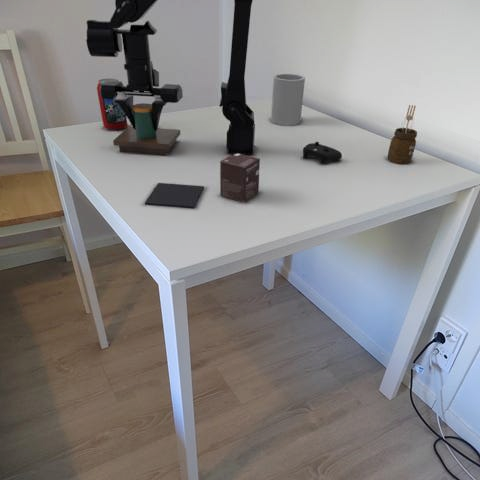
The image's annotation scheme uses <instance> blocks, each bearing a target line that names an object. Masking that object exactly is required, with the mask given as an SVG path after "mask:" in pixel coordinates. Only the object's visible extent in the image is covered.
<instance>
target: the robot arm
mask: <svg viewBox="0 0 480 480" xmlns="http://www.w3.org/2000/svg"><path fill="white" fill-rule="evenodd" d="M158 1H159V0H115V1H114V3H115V9H114V12H113V13H112V15H111V17H110V20H96V19H88V20H86V27H87V29H86V39H85V43H86V46H87V50H88V53H89V55H90V56H91V57H96V58H99V57H100V58H117V57H118V56H119V53H122V52H123V55H124V64H123V68H124V71H125V70H126V77H127V84H126V85H124V84H123V82H122V81H119V82H118V81H107V82H106V83H104V84H102V85H101V86H100V96H101V98H102V99H114V97H115V99H116V100H114V102H115V103H118V104H119V105H120V107H121V108H122V110H123V111H124V113H125V114H126V118H127V120H128V121H129V123H130V124H131V127H133V128H134V130H136V129H135V121H134V113H133V109H132V106H133V105H134V96H136V97H153V99H154V101H153V102H152V103H151V104H152V112H153V124H154V129H155V131H157V129H158V128H159V124H160V119H161V115H162V111H163V108H164V107H165V106H166V105H167V104H170V103H171V104H175V103H176V104H177V103H179V102H180V101H181V100H182V99H183V95H184V94H183V88H182V86H181V85H180V84H170V83H165V84H164V85H163V86H162V87H160V71H158V70H156V69H154V65H153V61H152V59H151V51H150V39H149V36H154V35H156V34H157V32H158V29H156V28H155V27H154V26H153V24H152V23H151V22H150V20H146V21H145V22H144V24H133V23H135V22H138V21H139V20H142V19H143V18H144V17H145V16H146V15H147V14H148V13H149V11H150V10H151V9H153V7H154V6H155V4H156V3H157V2H158ZM233 3H234V7H233V22H232V35H231V48H230V60H229V61H230V62H229V72H228V73H229V74H228V79H227V82H224V81H221V84H220V100H219V108H221V111H222V115H223V117H224V118H225V119H226V120H227V121H229V125H228V129H227V131H226V149H227V154H232V155H233V154H235V153H238V154H242V155H247V156H252V155H254V152H255V149H256V145H255V139H256V136H255V135H256V124H255V112H254V111H253V110H252V108H251V107H250V106H249V105H248V104H247V95H246V94H247V93H246V80H245V77H246V68H247V67H246V66H247V55H248V54H247V53H248V44H249V33H250V24H251V12H252V5H253V0H234V2H233ZM129 23H132V24H131V25H130V27H129V29H123V28H122V27H124V26H125V25H127V24H129ZM119 28H120V29H119Z"/></svg>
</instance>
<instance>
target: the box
mask: <svg viewBox="0 0 480 480" xmlns="http://www.w3.org/2000/svg"><path fill="white" fill-rule="evenodd" d="M260 163H261V158H260V157H255V156H252V155H246V154H238V153H235V154H232V155H228V156H226V157H225V158H224V159H222V160H220V161H219V177H220V178H219V184H220V186H219V187H220V192H219V193H220V196H221V197H224V198H227V199H231V200H235V201H238V202H242V203H245V202H247V201H249V200H250V199H252V198H253V197H255V196H256V195H257V194H259V190H260V168H261V167H260Z"/></svg>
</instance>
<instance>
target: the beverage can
mask: <svg viewBox="0 0 480 480" xmlns="http://www.w3.org/2000/svg"><path fill="white" fill-rule="evenodd" d="M97 81H98V82H97V86H96V91H97V97H98V102H99V109H100V116H101V120H102V126H103V127H104V128H106V130H107V129H108V130H110V131H121V130H123V129H126V128H127V126H128V118H127V116H126V114H125V113H124V111H123V110H122V108H121V107H120V105H119V104H118V103H115V102H114V100H116V99H115V97H114V99H102V98H101V96H100V86H101V85H102V84H104V83H106V82H107V81H118V82H120V81H119V79H117V78H101V79H99V80H97Z"/></svg>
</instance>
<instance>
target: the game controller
mask: <svg viewBox="0 0 480 480" xmlns="http://www.w3.org/2000/svg"><path fill="white" fill-rule="evenodd" d="M302 153H303V155H302V158H303V159H308V158H309V157H310V158H313V159H317V160H320V164H326V163H327V162H329V161H334V162H336V161H337V162H338V161H341V159H342V158H343V154H342V152H341V151H339V150H338V149H335V148H333V147H331V146H327V145H324V144H321V143H320V141H315V142H311V143H308V144H307V145H304V147H303V148H302Z"/></svg>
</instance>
